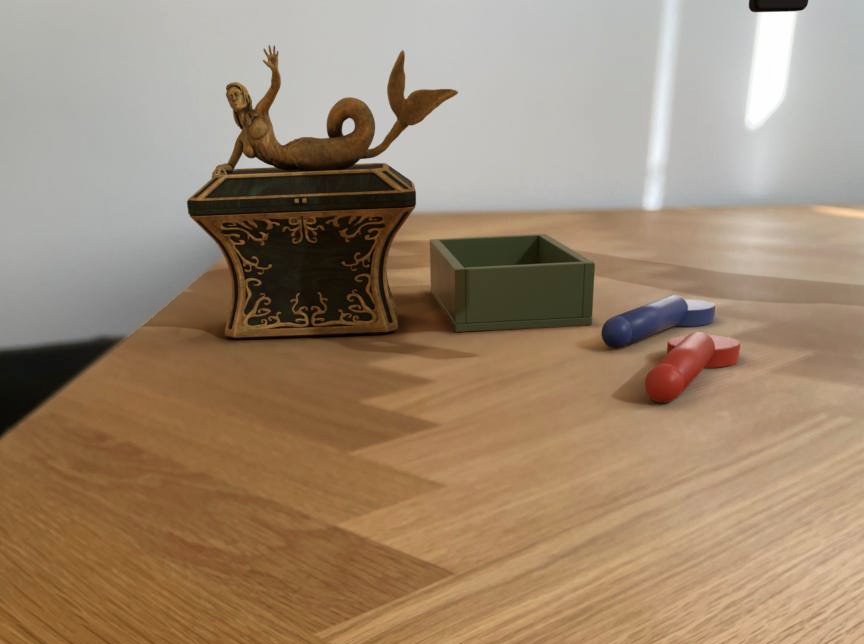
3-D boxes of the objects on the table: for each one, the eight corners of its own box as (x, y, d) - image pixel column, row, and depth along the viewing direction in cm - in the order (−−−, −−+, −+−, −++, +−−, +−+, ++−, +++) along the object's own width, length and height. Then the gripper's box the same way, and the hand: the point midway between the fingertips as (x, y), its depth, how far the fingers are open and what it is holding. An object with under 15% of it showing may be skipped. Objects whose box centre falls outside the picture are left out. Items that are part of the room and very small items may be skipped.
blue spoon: (667, 313, 84) (670, 284, 83) (723, 318, 81) (726, 288, 80) (579, 348, 74) (581, 316, 73) (639, 355, 71) (642, 321, 70)
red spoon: (674, 350, 72) (677, 317, 71) (743, 354, 70) (747, 321, 69) (618, 403, 61) (621, 365, 60) (699, 410, 59) (703, 371, 58)
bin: (544, 286, 97) (545, 233, 95) (591, 325, 81) (595, 262, 79) (430, 292, 97) (429, 239, 95) (455, 332, 80) (455, 269, 78)
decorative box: (200, 344, 80) (166, 48, 71) (219, 319, 88) (190, 53, 79) (462, 334, 79) (461, 35, 70) (455, 310, 88) (453, 41, 79)
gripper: (1148, -582, 37) (1027, -16, 45) (853, -384, 52) (801, 15, 60) (963, -600, 36) (871, -13, 44) (715, -391, 51) (680, 18, 59)
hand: (830, 3), depth 52 cm, fingers open, 9 cm apart
